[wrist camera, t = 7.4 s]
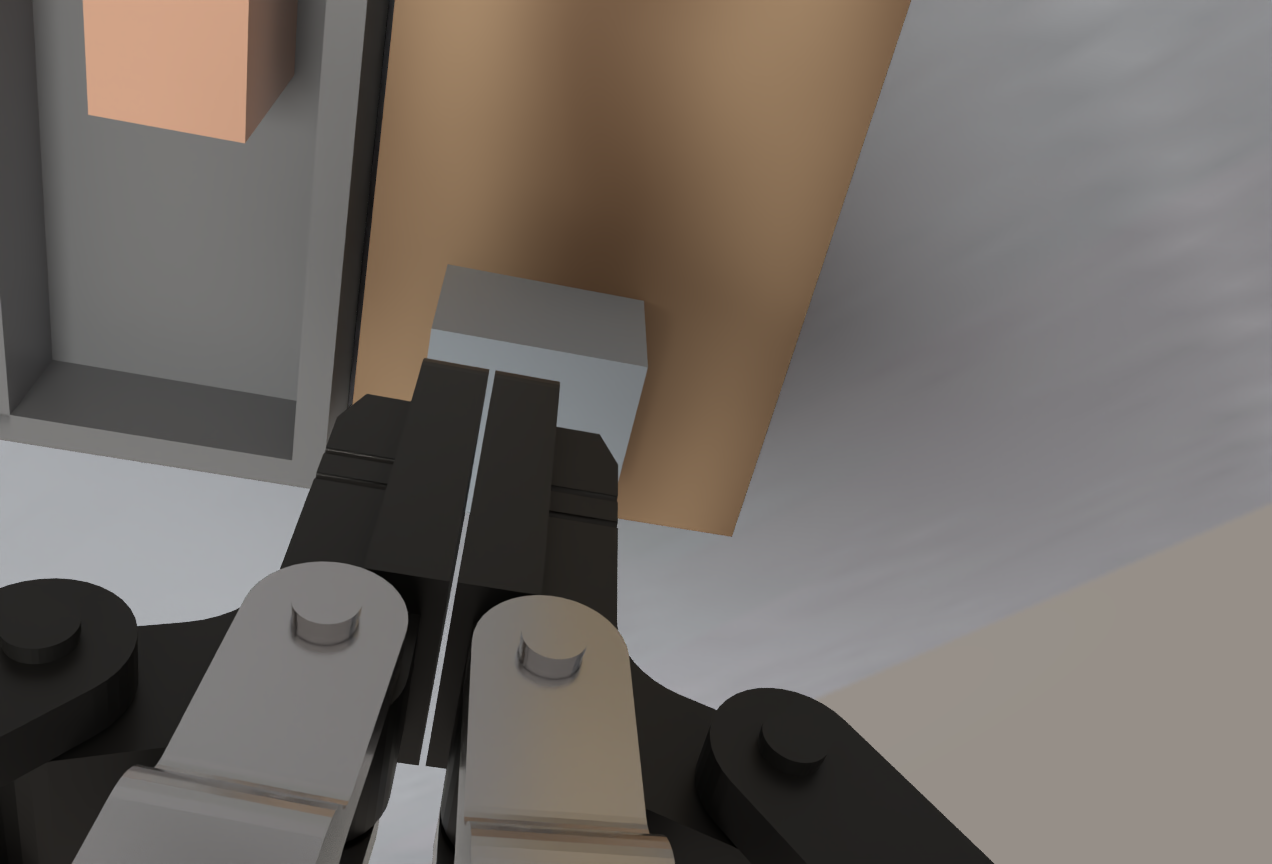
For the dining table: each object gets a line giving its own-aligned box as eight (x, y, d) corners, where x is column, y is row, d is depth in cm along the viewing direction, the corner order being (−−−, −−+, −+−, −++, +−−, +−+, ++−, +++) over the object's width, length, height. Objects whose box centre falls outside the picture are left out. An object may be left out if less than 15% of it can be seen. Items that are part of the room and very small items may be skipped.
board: (889, -97, 26) (931, -60, 23) (719, 449, 34) (732, 536, 31) (439, -206, 25) (413, -182, 22) (371, 390, 33) (344, 474, 30)
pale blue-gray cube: (643, 300, 27) (648, 367, 25) (604, 459, 30) (604, 534, 27) (447, 264, 27) (431, 328, 24) (423, 429, 29) (406, 502, 27)
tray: (416, -266, 24) (390, -254, 21) (346, 417, 34) (322, 490, 31) (-15, -372, 23) (-103, -375, 20) (34, 365, 32) (-23, 436, 29)
